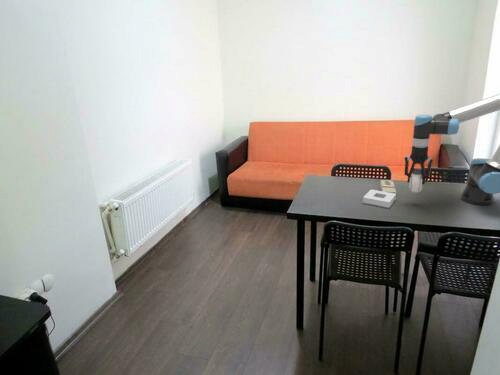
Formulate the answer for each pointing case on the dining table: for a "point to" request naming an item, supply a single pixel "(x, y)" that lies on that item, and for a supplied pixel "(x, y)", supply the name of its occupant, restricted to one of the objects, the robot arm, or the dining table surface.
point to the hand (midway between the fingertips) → (415, 188)
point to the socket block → (379, 198)
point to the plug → (416, 180)
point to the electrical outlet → (387, 186)
